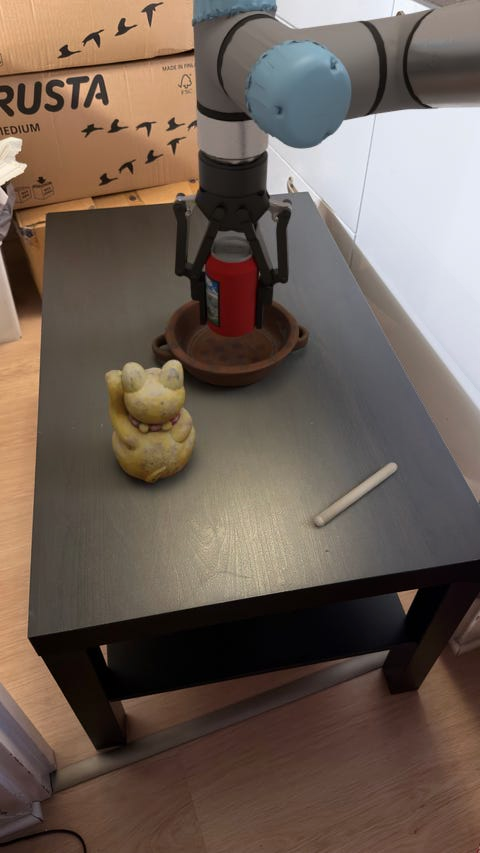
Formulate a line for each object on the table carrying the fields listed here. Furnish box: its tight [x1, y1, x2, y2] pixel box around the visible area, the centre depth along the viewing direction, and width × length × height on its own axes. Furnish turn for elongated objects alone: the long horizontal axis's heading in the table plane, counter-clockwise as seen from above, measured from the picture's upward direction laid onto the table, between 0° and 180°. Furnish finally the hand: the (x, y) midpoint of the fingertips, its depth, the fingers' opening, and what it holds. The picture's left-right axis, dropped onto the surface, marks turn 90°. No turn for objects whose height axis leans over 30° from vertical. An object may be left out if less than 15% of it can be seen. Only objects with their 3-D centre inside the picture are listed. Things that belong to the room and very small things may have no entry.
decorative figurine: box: [104, 360, 197, 483], centre depth 69 cm, size 10×8×15 cm
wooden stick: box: [314, 461, 398, 527], centre depth 72 cm, size 1×13×1 cm, turn 130°
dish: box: [151, 299, 310, 387], centre depth 86 cm, size 18×22×5 cm
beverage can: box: [204, 235, 260, 337], centre depth 80 cm, size 7×7×12 cm
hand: (231, 320), depth 83 cm, fingers closed on beverage can, 7 cm apart
